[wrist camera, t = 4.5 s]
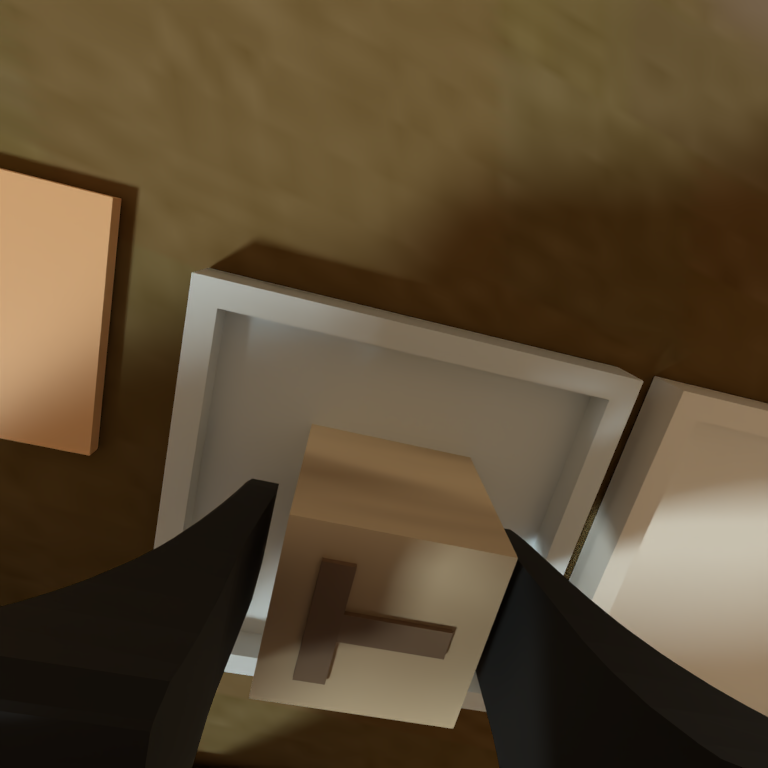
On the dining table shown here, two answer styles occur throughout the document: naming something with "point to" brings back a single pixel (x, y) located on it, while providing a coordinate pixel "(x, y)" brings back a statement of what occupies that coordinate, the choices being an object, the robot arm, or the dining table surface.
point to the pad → (54, 310)
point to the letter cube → (383, 582)
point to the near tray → (378, 415)
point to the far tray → (689, 537)
